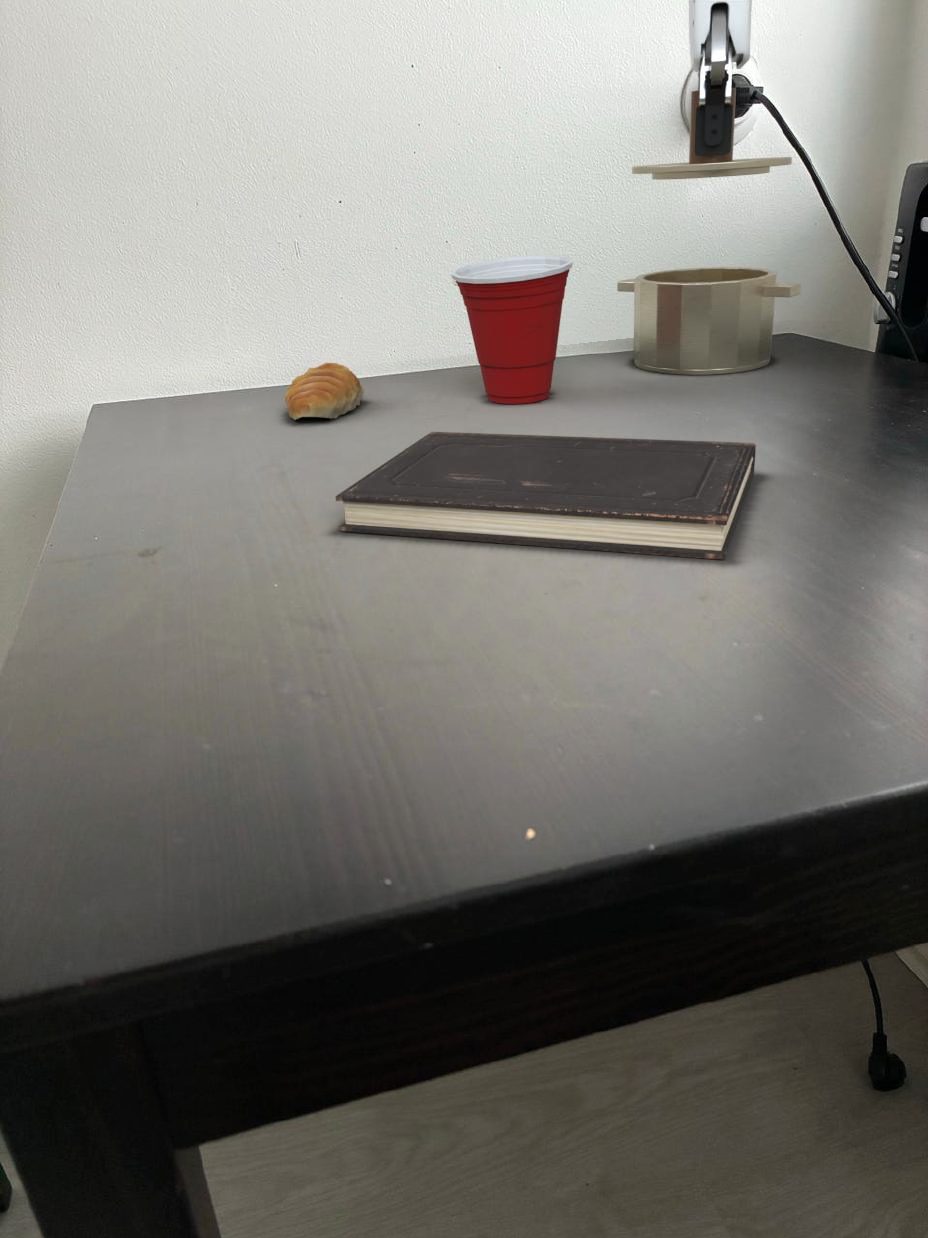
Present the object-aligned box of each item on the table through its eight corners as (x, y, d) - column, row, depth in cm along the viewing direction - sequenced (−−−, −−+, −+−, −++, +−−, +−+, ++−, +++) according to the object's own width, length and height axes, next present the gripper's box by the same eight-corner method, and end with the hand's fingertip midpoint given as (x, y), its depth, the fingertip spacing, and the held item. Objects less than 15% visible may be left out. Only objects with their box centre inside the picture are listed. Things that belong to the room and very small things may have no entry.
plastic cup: (434, 404, 92) (424, 267, 87) (507, 381, 99) (502, 254, 94) (528, 416, 85) (523, 269, 80) (598, 391, 92) (598, 254, 87)
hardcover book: (724, 560, 53) (726, 519, 52) (339, 531, 61) (335, 495, 60) (754, 474, 67) (756, 440, 66) (436, 459, 74) (434, 429, 73)
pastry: (347, 423, 87) (342, 379, 85) (272, 426, 87) (265, 383, 86) (367, 399, 95) (363, 359, 94) (298, 402, 96) (293, 362, 94)
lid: (679, 174, 103) (681, 96, 100) (816, 168, 95) (823, 82, 92) (602, 182, 94) (602, 96, 91) (747, 176, 85) (752, 80, 82)
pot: (655, 344, 113) (656, 265, 109) (818, 356, 101) (825, 268, 98) (587, 366, 104) (586, 280, 100) (758, 381, 92) (764, 285, 89)
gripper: (775, -107, 78) (760, 152, 85) (757, -66, 92) (745, 151, 100) (677, -96, 79) (671, 158, 87) (675, -57, 94) (669, 156, 102)
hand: (711, 152), depth 93 cm, fingers closed on lid, 4 cm apart
